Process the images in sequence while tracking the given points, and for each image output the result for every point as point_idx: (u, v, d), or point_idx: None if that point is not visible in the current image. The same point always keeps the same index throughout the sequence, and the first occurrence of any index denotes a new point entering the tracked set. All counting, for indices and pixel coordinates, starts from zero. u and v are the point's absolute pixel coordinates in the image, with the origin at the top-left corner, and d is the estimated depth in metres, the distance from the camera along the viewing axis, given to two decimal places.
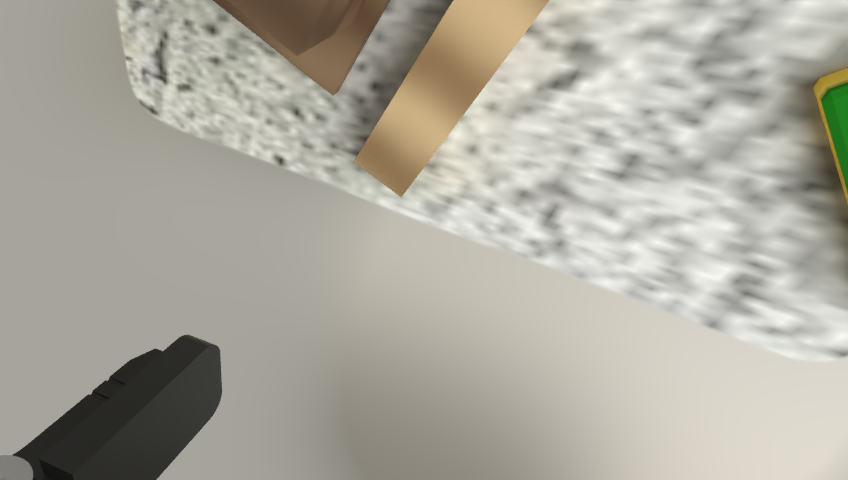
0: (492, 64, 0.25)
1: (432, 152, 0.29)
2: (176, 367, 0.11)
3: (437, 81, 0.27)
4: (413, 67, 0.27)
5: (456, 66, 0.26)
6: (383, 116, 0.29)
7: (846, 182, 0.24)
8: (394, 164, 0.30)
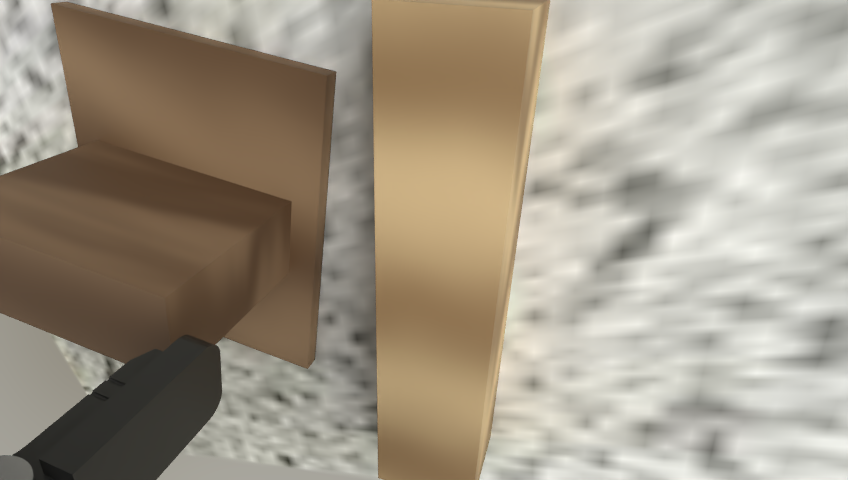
0: (488, 270, 0.14)
1: (477, 430, 0.17)
2: (176, 367, 0.11)
3: (422, 329, 0.15)
4: (378, 324, 0.16)
5: (436, 296, 0.15)
6: (379, 405, 0.18)
7: None
8: (434, 464, 0.18)
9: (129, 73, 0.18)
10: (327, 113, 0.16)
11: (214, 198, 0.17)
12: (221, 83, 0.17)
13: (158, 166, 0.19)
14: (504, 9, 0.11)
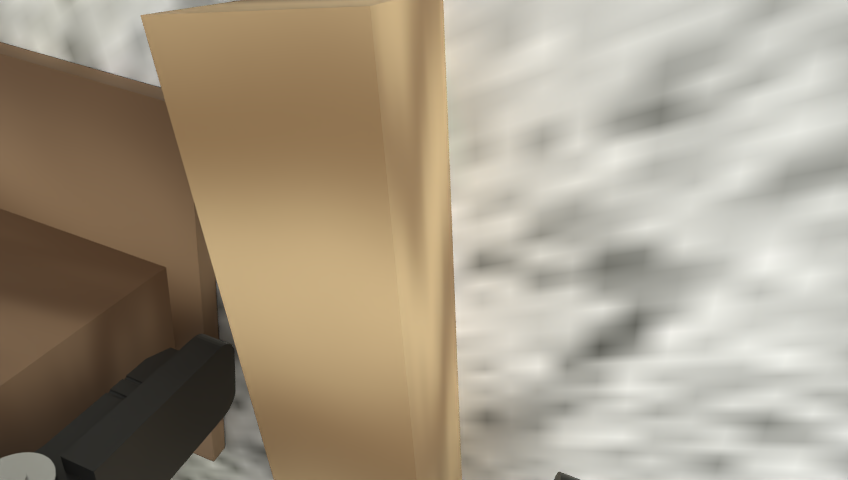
0: (390, 389, 0.09)
1: None
2: (192, 365, 0.11)
3: (324, 462, 0.11)
4: (269, 454, 0.12)
5: (332, 422, 0.10)
6: None
7: None
8: None
9: None
10: None
11: (56, 267, 0.13)
12: (56, 114, 0.12)
13: None
14: (327, 9, 0.07)
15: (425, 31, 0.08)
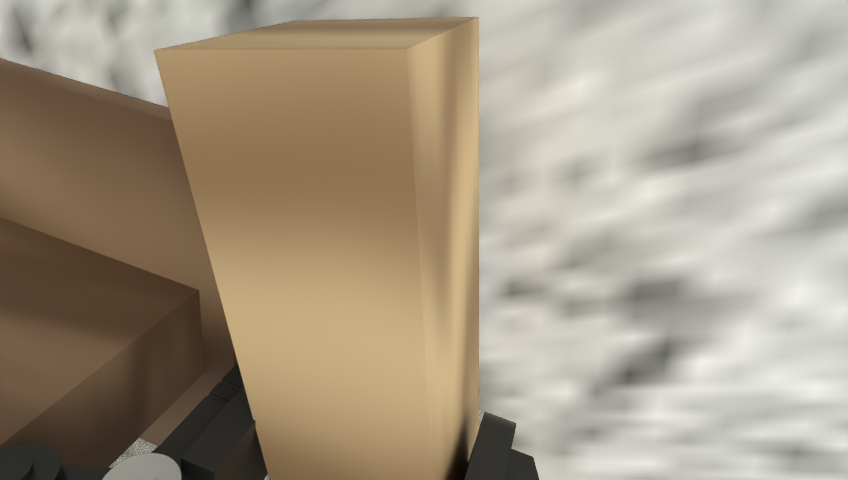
0: (411, 444, 0.09)
1: None
2: None
3: None
4: None
5: (346, 473, 0.10)
6: None
7: None
8: None
9: None
10: None
11: (93, 289, 0.13)
12: (98, 142, 0.13)
13: (32, 241, 0.14)
14: (358, 51, 0.06)
15: (457, 67, 0.08)
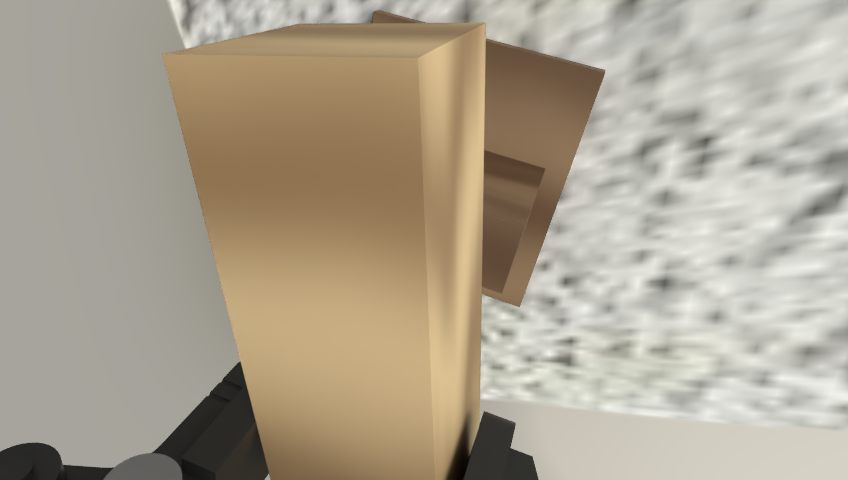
0: (415, 449, 0.09)
1: None
2: None
3: None
4: None
5: (349, 477, 0.10)
6: None
7: None
8: None
9: None
10: (594, 101, 0.22)
11: (494, 163, 0.23)
12: (509, 76, 0.22)
13: None
14: (369, 59, 0.06)
15: (465, 73, 0.08)
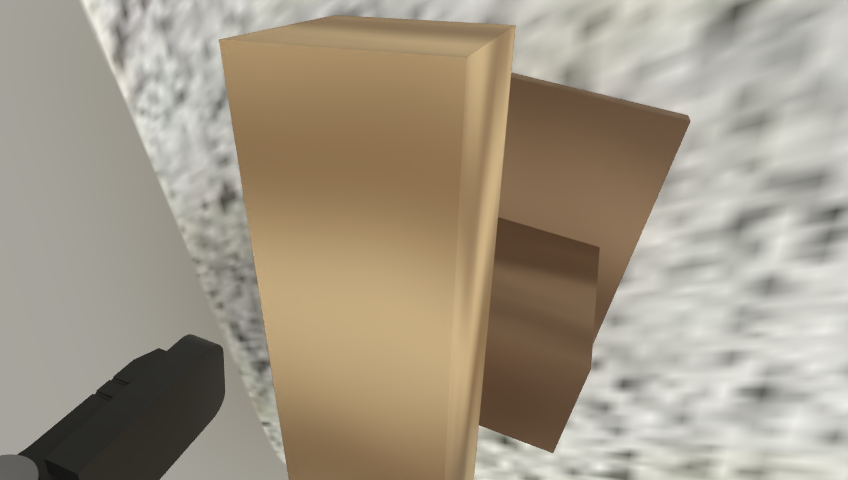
0: (429, 423, 0.09)
1: None
2: (180, 366, 0.11)
3: None
4: (290, 473, 0.12)
5: (362, 449, 0.10)
6: None
7: None
8: None
9: None
10: (672, 159, 0.15)
11: (530, 245, 0.16)
12: (550, 126, 0.16)
13: None
14: (420, 56, 0.07)
15: (497, 72, 0.08)
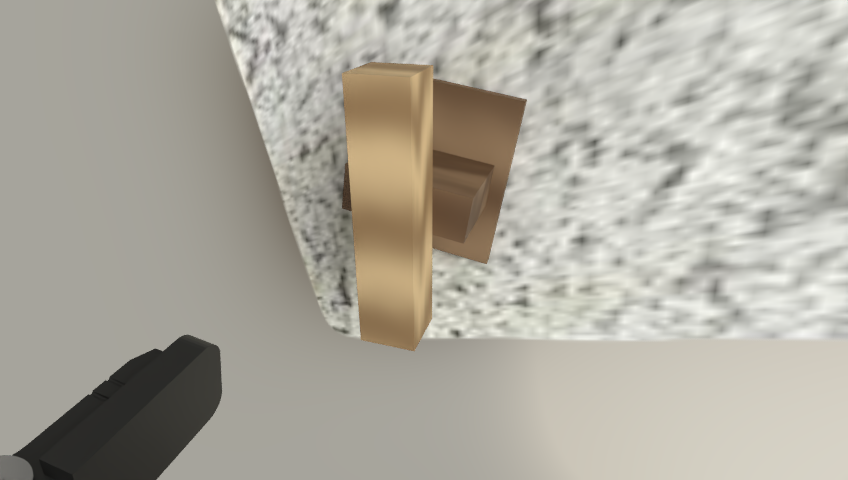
0: (406, 201, 0.28)
1: (411, 297, 0.30)
2: (176, 367, 0.11)
3: (377, 238, 0.29)
4: (354, 237, 0.30)
5: (383, 218, 0.28)
6: (358, 289, 0.31)
7: None
8: (391, 324, 0.32)
9: None
10: (521, 119, 0.34)
11: (459, 163, 0.35)
12: (466, 106, 0.34)
13: None
14: (398, 77, 0.25)
15: (424, 81, 0.27)
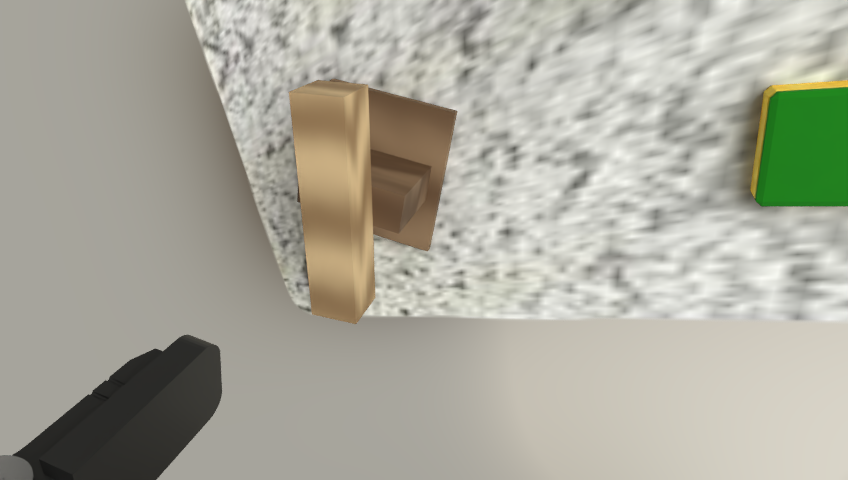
0: (344, 198, 0.33)
1: (352, 278, 0.36)
2: (176, 367, 0.11)
3: (322, 228, 0.35)
4: (304, 227, 0.35)
5: (326, 211, 0.34)
6: (308, 270, 0.37)
7: (843, 205, 0.32)
8: (336, 301, 0.37)
9: None
10: (452, 128, 0.39)
11: (400, 164, 0.40)
12: (406, 115, 0.40)
13: None
14: (334, 96, 0.30)
15: (359, 98, 0.32)
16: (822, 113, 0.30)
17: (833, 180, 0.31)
